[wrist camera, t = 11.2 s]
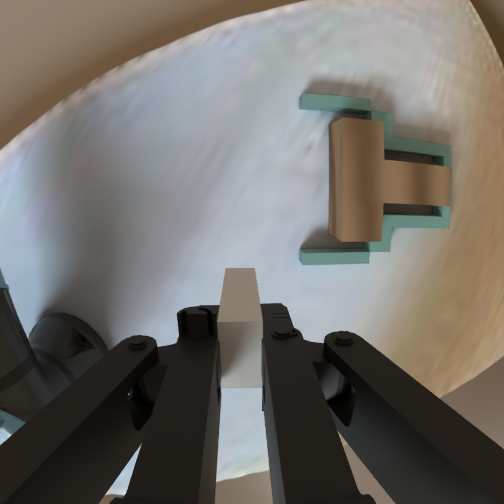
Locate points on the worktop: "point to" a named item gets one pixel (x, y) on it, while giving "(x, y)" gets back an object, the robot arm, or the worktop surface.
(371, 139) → the t block
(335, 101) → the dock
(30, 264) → the worktop surface
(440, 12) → the worktop surface
